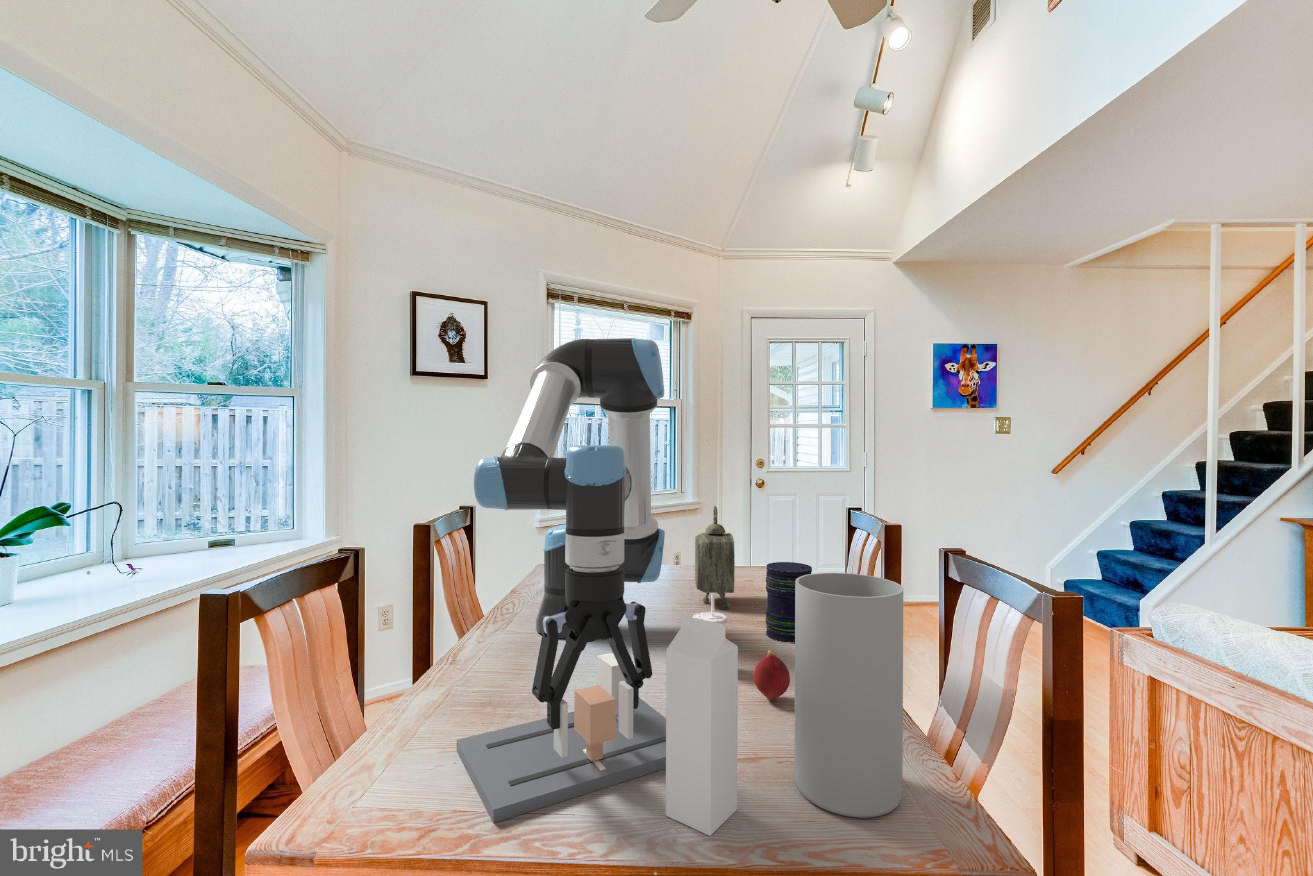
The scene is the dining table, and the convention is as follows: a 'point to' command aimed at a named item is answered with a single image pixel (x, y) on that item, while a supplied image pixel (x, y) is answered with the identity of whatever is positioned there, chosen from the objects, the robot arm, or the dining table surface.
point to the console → (557, 762)
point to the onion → (771, 676)
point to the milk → (701, 725)
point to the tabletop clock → (715, 561)
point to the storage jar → (782, 599)
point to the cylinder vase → (849, 692)
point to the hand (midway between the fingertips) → (594, 742)
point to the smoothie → (711, 614)
